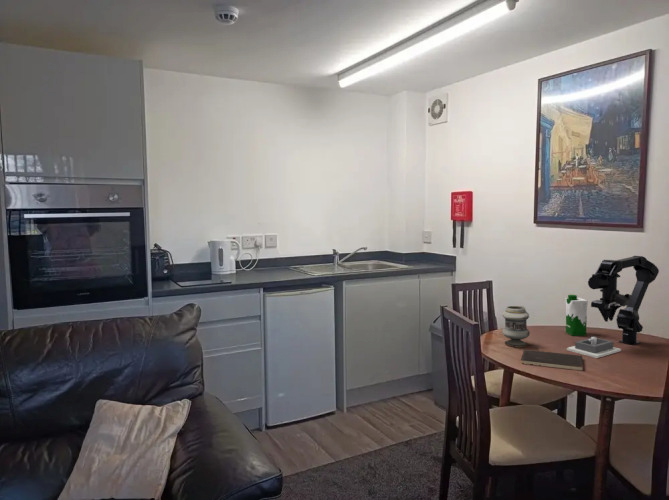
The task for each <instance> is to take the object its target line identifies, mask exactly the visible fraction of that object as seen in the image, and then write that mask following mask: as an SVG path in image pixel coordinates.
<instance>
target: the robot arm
mask: <svg viewBox="0 0 669 500" xmlns="http://www.w3.org/2000/svg"><path fill="white" fill-rule="evenodd" d="M631 267H633V269H634V270H635V271H636V272H635V277H636V282H635V284H634V286H633V289H632V292H631V294H629V293H626V294H621V293H620V290H619V289H618V278H621V275H620V274H619V273H620V272H622V270H623V269H628V268H631ZM659 270H660V269H659V268H658V266H657V265H656V264H655V263H653V262H651V261H650V260H648V259H647V258H646V257H645V256H643V255H642V256H641V255H633V256H629V257H625V258H620V259H603V260H602V261H601V262H600V264H599V266H598V268H597V269H596V271H595V273H593V274H591V277H589V279H588V281H587V285H588V287H589V288H590V289H592V290H599V292H601V297H600V298H599V299H596V300H592V301H591V303H590V307H591V308H596V309H598V311H599V313H600V314H601V317H602V318H603V320H604V322H607V323H608V322H609V321H613V320H614V317H615V314H616V312H617V311H618V313H617V314H616V325H617V328H618V329H621V330H622V339H621V340H618V342H619V343H622V344H625V345H626V344H627V345H631V346H634V345H638V344H641V341H638V333H641V332H642V331H643V328H644V326H643V325H642V324H641V322H640V315H639V314H640V313H639V309H640V307H641V305H642V302H643V300H644V297H645V295H646V293H647V289H648V287H649V285H650V284H651V283H653V282H654V281H656V279H657V277H658V275H659V272H660V271H659ZM621 307H625V308H623V309H621ZM618 309H619V310H618Z"/></svg>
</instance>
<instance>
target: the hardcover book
mask: <svg viewBox="0 0 669 500" xmlns="http://www.w3.org/2000/svg"><path fill="white" fill-rule="evenodd" d="M520 361H521V364H522V363H524V364H525V365H530V364H533V366H539V365H541V366H540V367H547V368H548V367H549V368H550V367H551V368H557V369H565V370H566V369H567V370H575V371H583V370H584V369H583V368H584V363H583V361H584V360H583V355H582V354H580V355H579V354H572V353H571V354H570V353H563V352H552V351H543V350H542V351H541V350H533V349H524V350H523V353H522V355H521V359H520Z"/></svg>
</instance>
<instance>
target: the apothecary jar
mask: <svg viewBox="0 0 669 500" xmlns="http://www.w3.org/2000/svg"><path fill="white" fill-rule="evenodd" d="M502 317H503V319H504V324H505V326H504V328H503V329H502V334H503V336H504V337H506V338H507V339H508V340H506V341H504V344H505V345H506V344H507V346H508V345H510V346H509V347H513V346H517V347H516V348H524V347H526V346H527V345H528V344H527V342H525V341H523V340H525V339H527V338H528V337H529V336H530V334H531V333H530V330H529V328H527V327H528V326H527V325H528V324H527V320H528V319H529V318H530V314H529V313H528V312H527V310H526V307H525V306H523V305H508V306H506V307H505V310H504V311H503V312H502ZM523 346H524V347H523Z"/></svg>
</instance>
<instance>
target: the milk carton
mask: <svg viewBox="0 0 669 500" xmlns="http://www.w3.org/2000/svg"><path fill="white" fill-rule="evenodd" d="M588 303H589V300H586V299H585V298H582V297H578V295H577V294H568V295H567V297H565V333H566V334H568V335H570V336H572V337H577V336H578V337H581V336H582V337H583V336H584V337H586V336H587V323H588V322H587V318H588V316H587V314H588Z"/></svg>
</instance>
